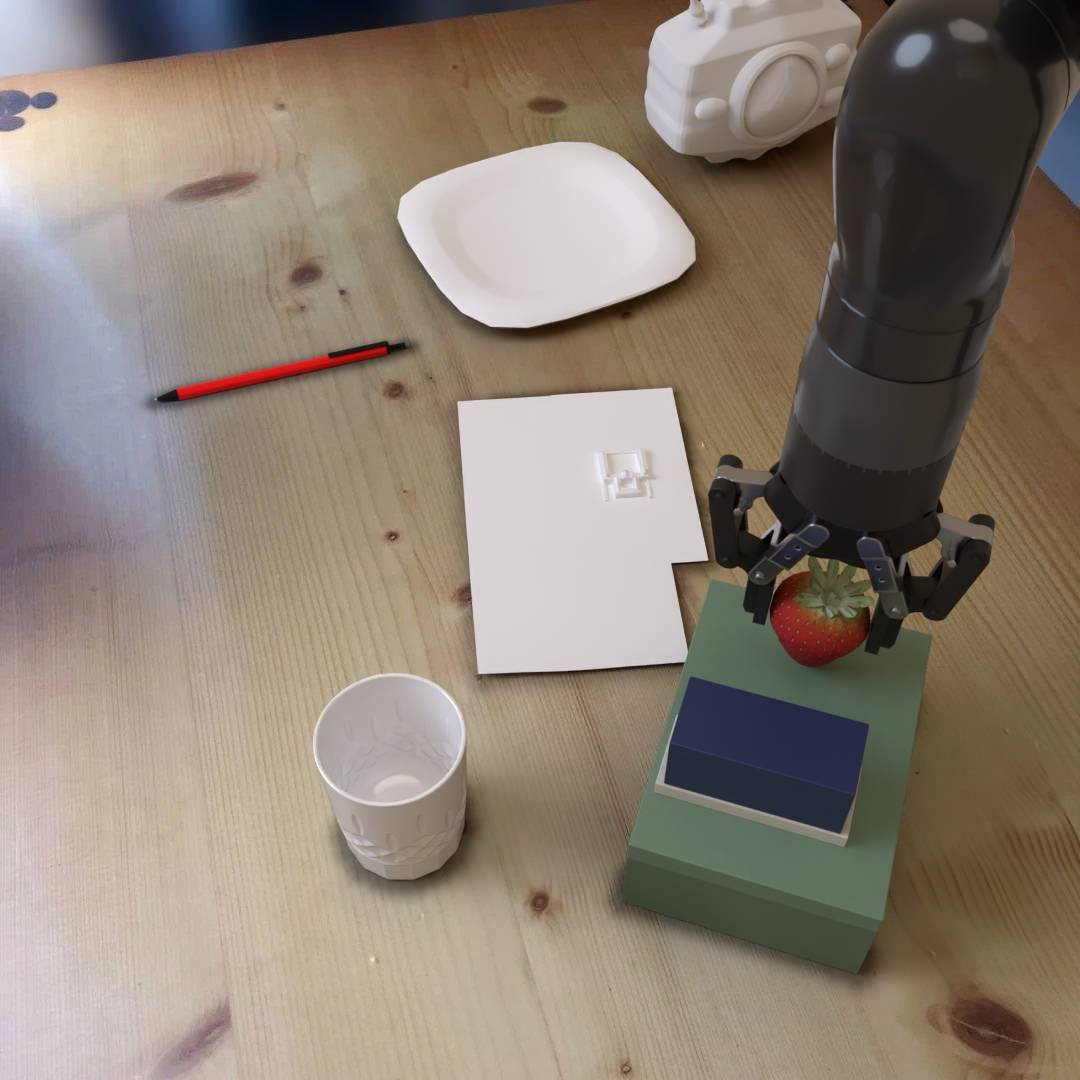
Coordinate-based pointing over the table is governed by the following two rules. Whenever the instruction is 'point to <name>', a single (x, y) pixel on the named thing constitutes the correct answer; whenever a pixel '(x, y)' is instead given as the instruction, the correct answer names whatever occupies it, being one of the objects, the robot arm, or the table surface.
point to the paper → (577, 529)
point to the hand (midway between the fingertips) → (817, 625)
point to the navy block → (764, 760)
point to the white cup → (395, 772)
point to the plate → (544, 235)
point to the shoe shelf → (768, 852)
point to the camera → (748, 74)
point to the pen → (283, 371)
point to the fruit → (821, 613)
